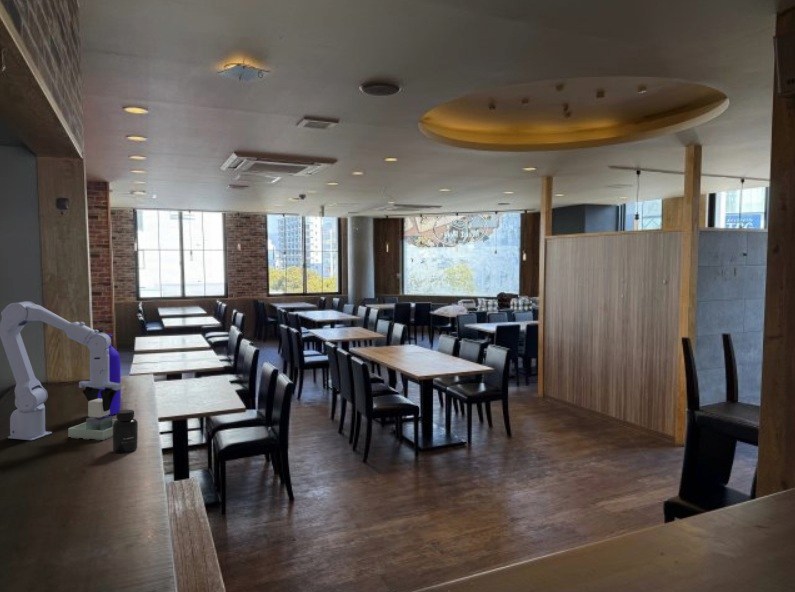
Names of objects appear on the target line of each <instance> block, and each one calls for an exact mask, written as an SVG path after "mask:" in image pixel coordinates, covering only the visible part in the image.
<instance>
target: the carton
mask: <svg viewBox="0 0 795 592" xmlns="http://www.w3.org/2000/svg"><path fill="white" fill-rule="evenodd" d="M87 403H88V404H87V406H88V407H87V409H88V411H87V414H88V415H87V416H88V418H90V417H103V416H106V415H108V414H110V410H108V411H104V410H103V401H102V399H100V398H98V399H95V400H91V401H88V400H87Z"/></svg>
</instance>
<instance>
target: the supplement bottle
mask: <svg viewBox="0 0 795 592" xmlns="http://www.w3.org/2000/svg"><path fill="white" fill-rule="evenodd" d="M115 416H116V418H115V420H116V421H115V422H114V423H113V437H112V452H114V453H116V454H127V453H132V452H135V451H136V450H137V449H138V439H139V438H138V422H139V421H138V420H137V419H136V418H134V417H135V410H134V409H122V410H121V409H120V411H118V412H117V414H116V415H115Z"/></svg>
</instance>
